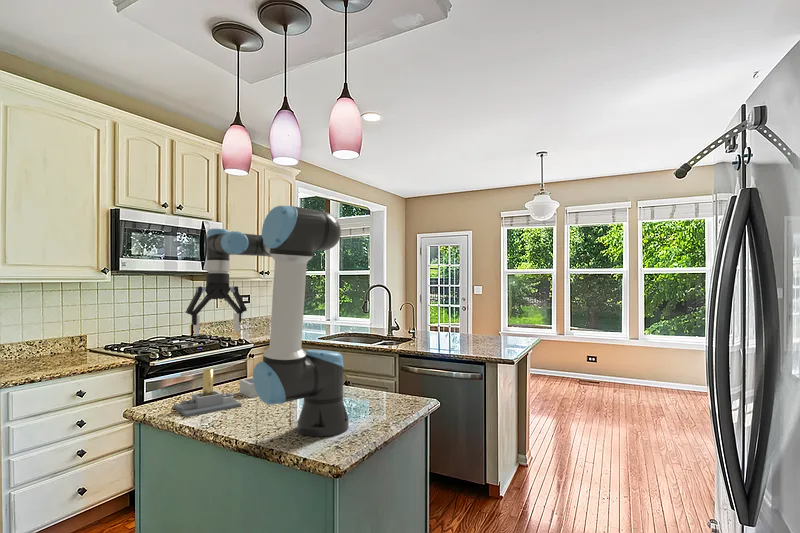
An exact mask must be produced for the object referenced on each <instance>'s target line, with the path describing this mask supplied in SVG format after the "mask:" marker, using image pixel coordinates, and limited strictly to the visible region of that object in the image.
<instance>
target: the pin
mask: <svg viewBox="0 0 800 533" xmlns="http://www.w3.org/2000/svg"><path fill="white" fill-rule="evenodd" d="M202 371H203V373H202V377H203V378H202V392H203V396H209V395H213V391H214V368H204V369H203V370H202Z"/></svg>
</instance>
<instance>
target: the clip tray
mask: <svg viewBox="0 0 800 533" xmlns="http://www.w3.org/2000/svg"><path fill="white" fill-rule="evenodd" d="M239 393H240V394H242V395H244V396H246V397H248V398H255V397H259V396H258V394H257V392H256V390H255V387H254V382H253V377H250V378H243V379H242V378H241V379H240V380H239Z"/></svg>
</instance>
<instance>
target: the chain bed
mask: <svg viewBox="0 0 800 533" xmlns="http://www.w3.org/2000/svg"><path fill="white" fill-rule="evenodd" d="M241 407H242V404H241V402H238V401H237V400H235V397H234V393H233V392H227V393H223V392H221V391H219V390H214V389H213V395H209V396H203V391H202V392H196V393H192V394H191V399H188V400H181V401H180V402H179V403H175V404H173V409H175V410H176V411H178V412H179V413H180V414H181V415H183V417H185V418H189V417H194V416H200V415H203V414H209V413H213V412H215V413H216V412H219V411H225V410H230V409H231V410H232V409H235V408H241Z"/></svg>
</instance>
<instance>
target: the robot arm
mask: <svg viewBox="0 0 800 533" xmlns="http://www.w3.org/2000/svg"><path fill="white" fill-rule="evenodd" d="M261 227H262V228H261V234H254V233H253V234H252V233H251V234H250V233H243V232H242V231H237V230H236V231H234V230H233V231H230V230H228V229H225V228H210V229H208V230H207V231H206V239H205V240H206V277H205V278H206V279H205V280H206V281H205V282H206V283H205V286H203V287H202V286H196V289H195V293H194V295H193V297H192V299H191V301H190V303H189V305H188V307H187V308H186V310H185V314H188V315H190V316H191V325H192V326H194V330H193V331H194V336H195V335H196V336H200V326H201V325H200V323H201V322H200V319H201V318H200V315H199V313H200V312H201V311H202V310H203V309H204V307H205V306H206V305H207V304H208V303H209V302H210V301H211V300H224V301H226V302H227V304H228V305H229V306H230V307H231V308H232V309H233V311H234V312H235V313H234V314H233V332H234V333H239V332H240V323H241V322H242V315H243V313H245V312H247V311H248V309H247V307H246V305H245V302H244V301H243V298H242V296H241V294H240V293H239V287H238V286H236V285H233V286H230V274H229V272H230V256H231V255H232V256H233V255H234V256H252V257H253V256H255V257H256V256H257V257H267V258H268V257H269V258H272V259H273V260H274V267H273V268H274V270H273V272H274V273H273V284H272V285H273V286H272V287H273V288H272V299H271V300H272V301H271V315H270V316H271V317H270V318H271V319H270V331H269V332H270V333H269V334H270V335H269V347H268V348H267V349H266V350H265V351H264V352H263V353H262V361H259V362H257V363H256V364H255V366H254V368H253V370H252V378H253V382H254V387H255V390H256V392H257V394H258V396H257V397H258V398H259V399H260V400H261V401H262V403H264V404H265V405H270V406H272V405H279V404H280V405H282V404H285V403H288V402H289V403H290V402H292V401H297V400H301V399H302V400H303V405H302V407H301V411H300V412H299V418H298V420H297V428H296V429H297V432H298V433H299V434H302V435H304V436H308V437H319V438H321V437H331V436H335V435H339V434H342V433H344V432H346V431H347V430H348V429H349V417H348V414H347V409H346V406H345V404H344V368H345V366H344V358H343V357H344V356H343V354H342V353H341V352H337V351H334V350H333V351H332V350H326V349H325V350H324V349H306V350H304V349H303V348H302V341H303V326H304V325H303V324H304V311H305V296H306V295H305V293H306V281H307V280H306V279H307V268H308V267H307V265H308V262H309V261H310V260H312V259H313V256H314V252H317V251H318V252H320V251H327V250H331V249H332V248H334V247H335V246H336V245H337V244H338V243H339V241H340V239H341V234H342V229H341V225H340V223H339V221H338V220H337V218H336V217H335V216H334V215H333V214H331V213H329V212H328V211H324V210H316V209H311V208H306V207H305V208H304V207H298V206H294V205H277V206H275V207H273V208H271V210H269V211H268V214H266V216H265V219H264V221H263V224H262V226H261ZM207 272H208V273H207ZM230 291H231V293H232V295H233V296H234V298H235V301H236V302H235V301H234V300H233V299H232V297H231V296H230V294H229V293H230ZM204 292H205V293H206V295H205V297H204V298H203V299H202V300H201V301H200V302H199V300H200V298H201V296H202V294H203V293H204ZM198 302H199V303H198ZM197 303H198V305H197ZM196 305H197V306H196Z"/></svg>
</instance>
